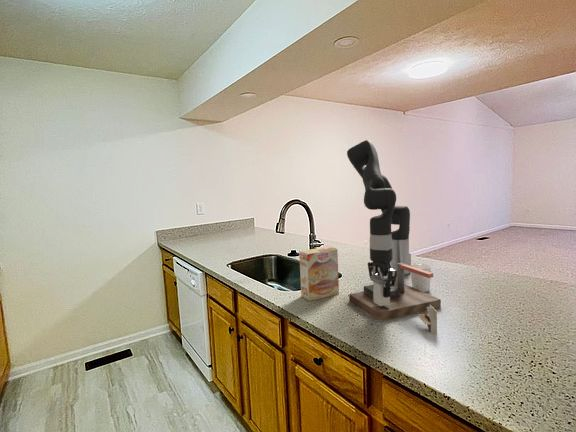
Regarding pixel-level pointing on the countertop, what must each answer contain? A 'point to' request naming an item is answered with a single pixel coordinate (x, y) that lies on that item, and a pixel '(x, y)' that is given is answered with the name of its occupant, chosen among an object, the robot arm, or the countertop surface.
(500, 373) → the countertop surface
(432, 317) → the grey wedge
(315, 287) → the coffeecake box
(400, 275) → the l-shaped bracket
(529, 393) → the countertop surface
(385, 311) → the socket board
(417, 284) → the white cup
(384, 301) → the plug
